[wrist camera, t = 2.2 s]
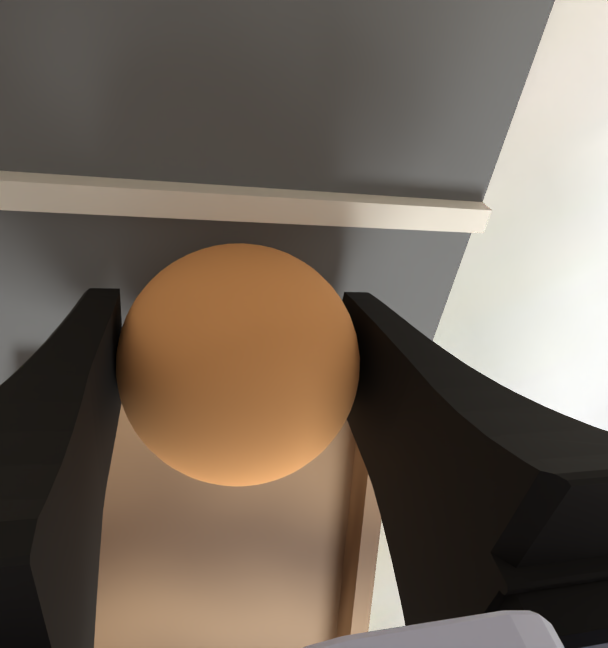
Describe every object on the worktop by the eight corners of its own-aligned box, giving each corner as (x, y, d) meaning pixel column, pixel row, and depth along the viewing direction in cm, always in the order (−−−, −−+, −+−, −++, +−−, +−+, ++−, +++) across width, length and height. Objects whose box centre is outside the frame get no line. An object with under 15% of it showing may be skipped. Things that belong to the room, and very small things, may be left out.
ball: (310, 372, 15) (362, 525, 11) (127, 376, 14) (113, 552, 10) (344, 209, 12) (427, 339, 8) (117, 196, 11) (93, 343, 7)
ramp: (307, 572, 24) (346, 743, 19) (83, 599, 22) (59, 805, 17) (375, 327, 17) (472, 507, 11) (37, 328, 14) (-34, 558, 9)
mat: (402, 403, 17) (445, 489, 15) (-5, 420, 14) (-43, 532, 12) (586, -128, 10) (745, -149, 7) (-196, -331, 7) (-430, -499, 4)
